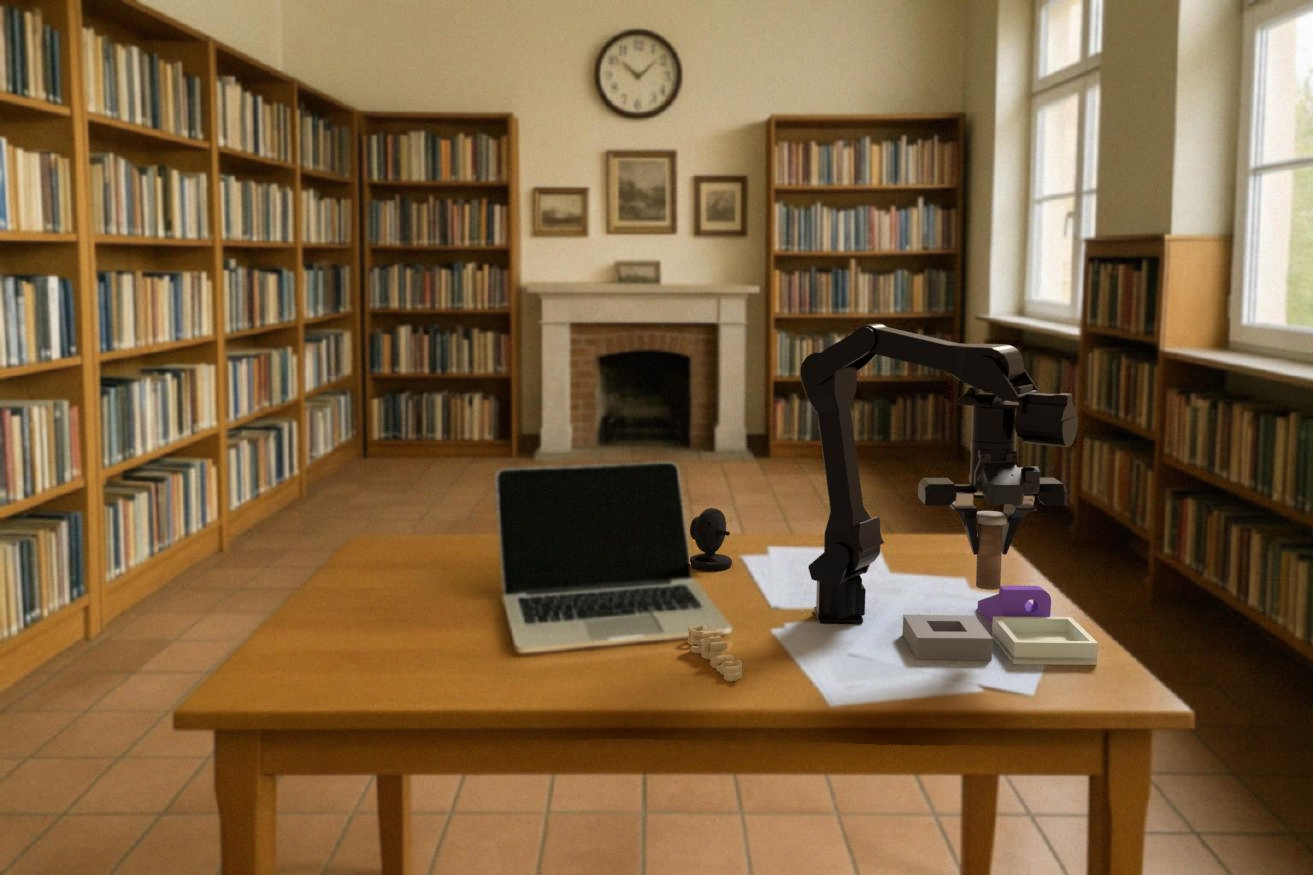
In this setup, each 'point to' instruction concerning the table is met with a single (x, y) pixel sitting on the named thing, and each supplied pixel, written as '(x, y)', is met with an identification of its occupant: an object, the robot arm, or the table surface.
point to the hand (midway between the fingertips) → (989, 553)
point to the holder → (947, 637)
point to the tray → (1044, 640)
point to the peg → (989, 549)
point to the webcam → (709, 540)
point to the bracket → (1016, 603)
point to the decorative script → (714, 651)
